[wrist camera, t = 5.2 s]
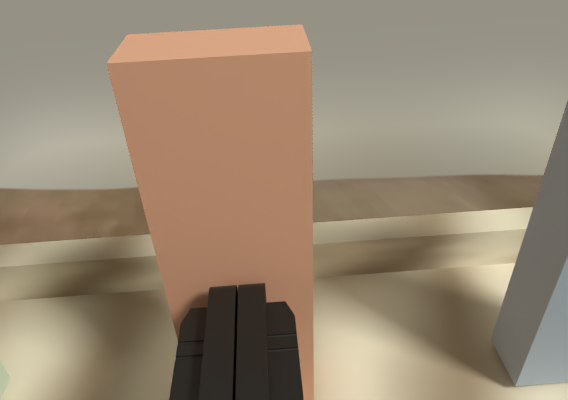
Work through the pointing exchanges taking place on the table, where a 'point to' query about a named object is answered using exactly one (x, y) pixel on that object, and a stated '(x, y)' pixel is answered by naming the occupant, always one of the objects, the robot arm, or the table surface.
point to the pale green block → (3, 379)
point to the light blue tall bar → (540, 283)
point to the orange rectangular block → (224, 163)
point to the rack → (326, 313)
